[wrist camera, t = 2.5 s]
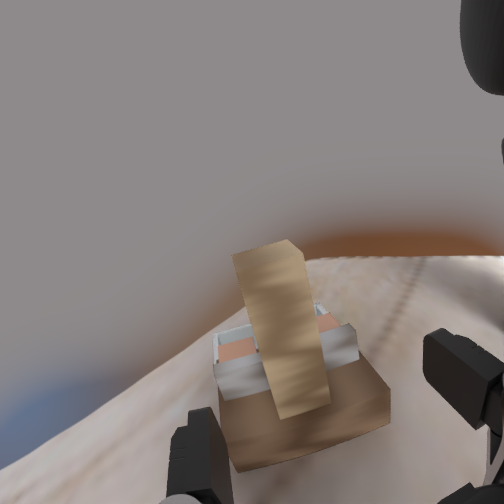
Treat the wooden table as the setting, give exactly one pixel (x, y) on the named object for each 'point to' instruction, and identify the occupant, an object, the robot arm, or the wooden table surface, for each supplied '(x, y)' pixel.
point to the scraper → (284, 334)
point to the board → (304, 419)
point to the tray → (245, 333)
